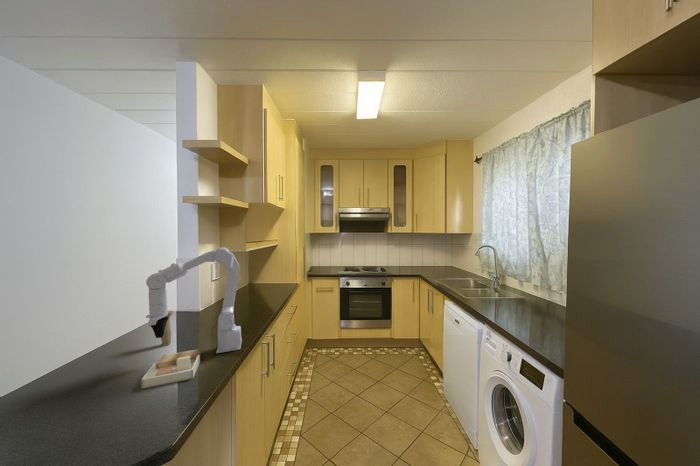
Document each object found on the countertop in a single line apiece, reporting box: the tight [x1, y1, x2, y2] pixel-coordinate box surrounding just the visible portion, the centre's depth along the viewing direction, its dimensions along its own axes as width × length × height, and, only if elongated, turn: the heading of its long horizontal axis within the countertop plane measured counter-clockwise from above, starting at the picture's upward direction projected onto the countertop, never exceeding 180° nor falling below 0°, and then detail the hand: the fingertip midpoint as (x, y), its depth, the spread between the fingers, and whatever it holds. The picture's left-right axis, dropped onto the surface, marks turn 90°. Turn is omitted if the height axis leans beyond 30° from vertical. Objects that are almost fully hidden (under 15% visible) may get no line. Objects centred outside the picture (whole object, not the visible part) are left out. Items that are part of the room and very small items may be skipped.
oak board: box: [156, 348, 202, 369], centre depth 103 cm, size 13×7×2 cm, turn 110°
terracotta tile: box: [156, 366, 172, 376], centre depth 92 cm, size 4×4×2 cm
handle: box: [160, 309, 174, 347], centre depth 119 cm, size 5×6×15 cm
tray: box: [140, 355, 201, 390], centre depth 94 cm, size 15×12×3 cm
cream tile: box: [177, 356, 191, 371], centre depth 97 cm, size 4×4×2 cm
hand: (159, 337), depth 103 cm, fingers closed
